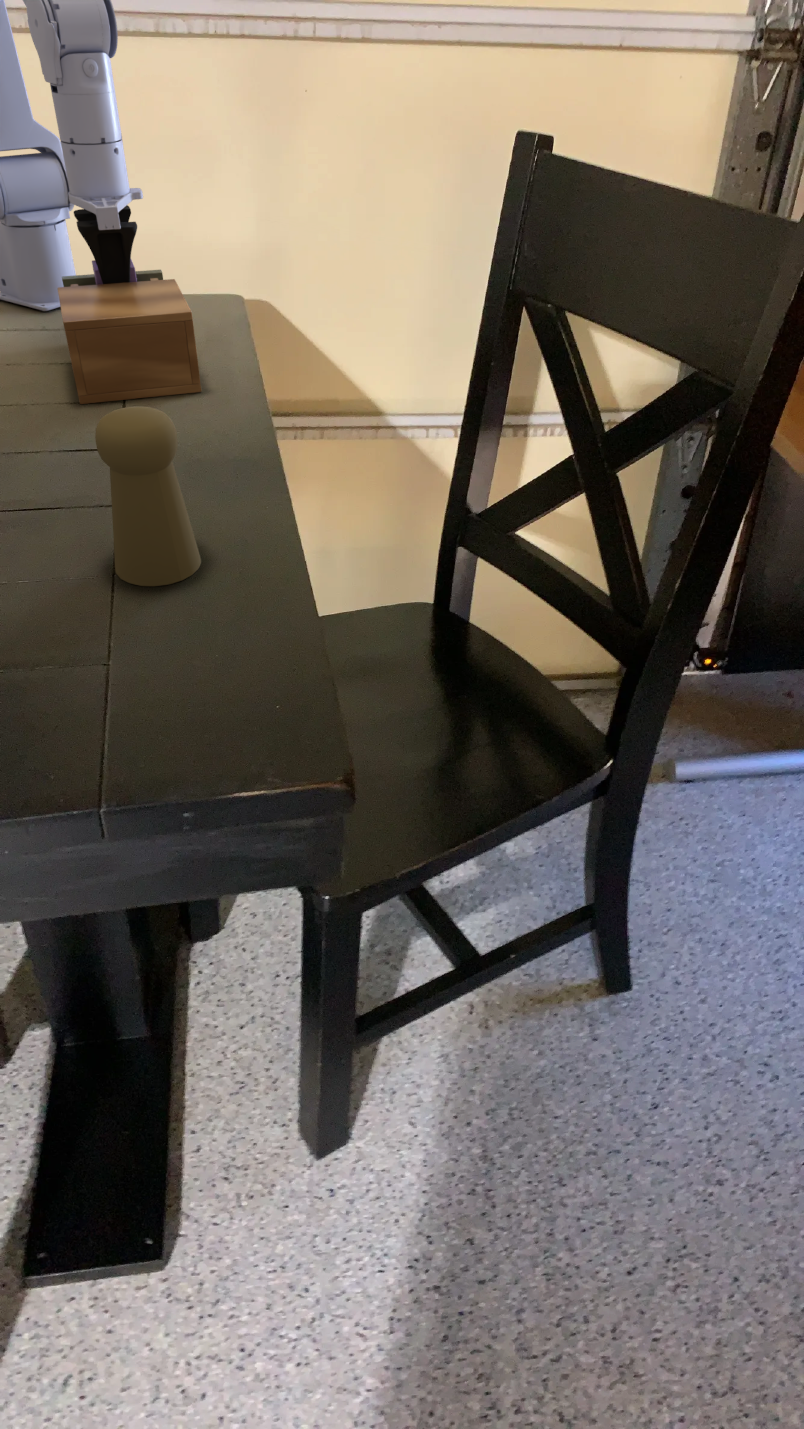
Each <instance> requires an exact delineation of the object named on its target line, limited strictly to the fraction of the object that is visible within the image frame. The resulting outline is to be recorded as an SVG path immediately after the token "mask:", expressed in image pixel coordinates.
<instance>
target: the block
mask: <svg viewBox="0 0 804 1429" xmlns="http://www.w3.org/2000/svg"><path fill="white" fill-rule="evenodd" d="M91 265H92V270H93V271H92V272H93V274H94V277H95V282H96V285H99V284H103V282H102V279H101V276H100V273H99V270H98V267H97V264H96V261H95V259H94V260H91ZM135 271H136V267H135V265H134V262H133V260H132V259H131V260H130V282H137V278H136V272H135Z"/></svg>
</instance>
